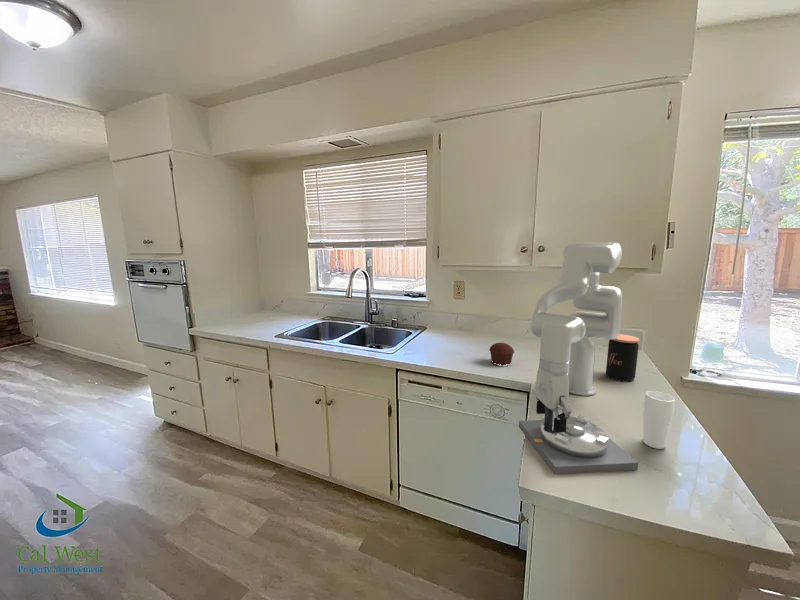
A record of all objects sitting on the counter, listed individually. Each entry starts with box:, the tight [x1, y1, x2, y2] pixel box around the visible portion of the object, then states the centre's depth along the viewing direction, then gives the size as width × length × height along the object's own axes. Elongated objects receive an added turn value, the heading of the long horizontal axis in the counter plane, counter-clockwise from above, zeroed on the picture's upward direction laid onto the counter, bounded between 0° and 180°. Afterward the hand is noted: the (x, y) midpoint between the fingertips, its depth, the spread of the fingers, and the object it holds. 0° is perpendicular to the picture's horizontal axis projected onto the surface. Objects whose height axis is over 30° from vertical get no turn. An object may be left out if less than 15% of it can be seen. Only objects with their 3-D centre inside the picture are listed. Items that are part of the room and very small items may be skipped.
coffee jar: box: [605, 333, 640, 382], centre depth 141 cm, size 11×11×18 cm
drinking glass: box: [642, 390, 676, 450], centre depth 94 cm, size 7×7×15 cm
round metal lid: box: [540, 406, 610, 457], centre depth 94 cm, size 17×17×10 cm
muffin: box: [488, 342, 515, 365], centre depth 160 cm, size 12×11×10 cm
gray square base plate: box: [518, 419, 639, 475], centre depth 95 cm, size 22×22×2 cm
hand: (550, 422), depth 93 cm, fingers open, 9 cm apart
